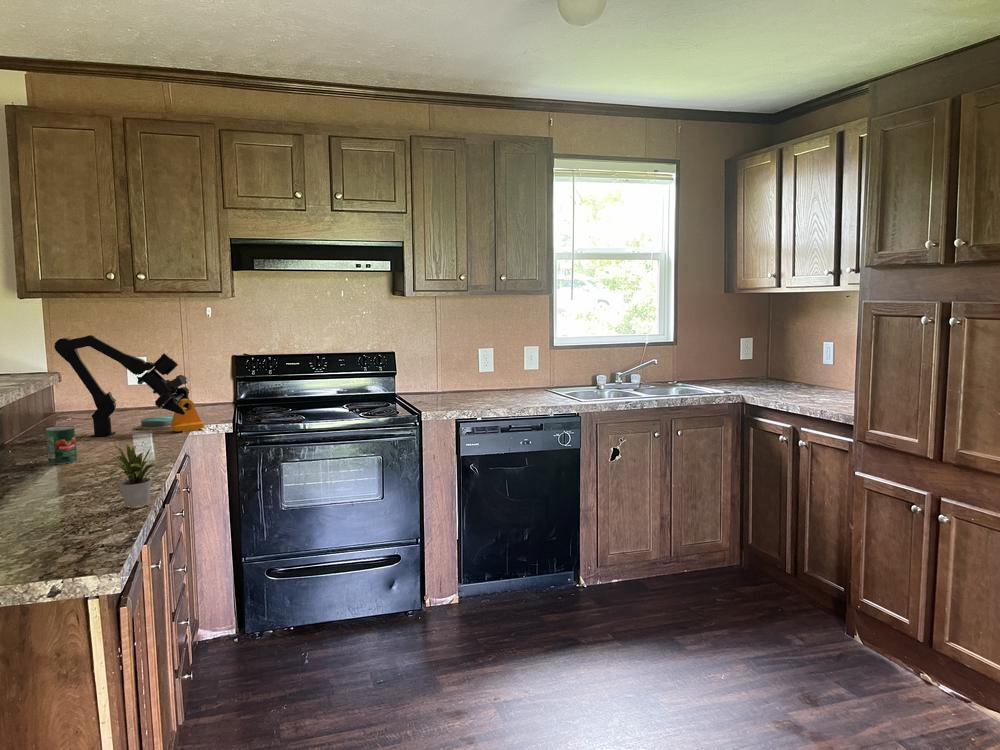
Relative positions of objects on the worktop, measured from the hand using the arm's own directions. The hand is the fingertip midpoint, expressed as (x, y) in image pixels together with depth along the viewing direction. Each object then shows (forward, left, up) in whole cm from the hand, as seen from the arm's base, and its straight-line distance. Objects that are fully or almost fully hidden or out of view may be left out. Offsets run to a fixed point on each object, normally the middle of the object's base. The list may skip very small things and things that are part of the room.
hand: (189, 411), depth 287 cm
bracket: (0, +1, -7) cm, 7 cm away
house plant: (-103, -28, -7) cm, 107 cm away
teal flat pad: (+10, +16, -7) cm, 20 cm away
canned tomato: (-52, +19, -7) cm, 56 cm away
